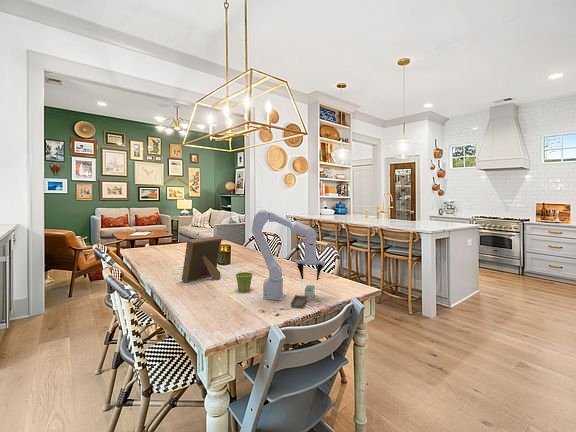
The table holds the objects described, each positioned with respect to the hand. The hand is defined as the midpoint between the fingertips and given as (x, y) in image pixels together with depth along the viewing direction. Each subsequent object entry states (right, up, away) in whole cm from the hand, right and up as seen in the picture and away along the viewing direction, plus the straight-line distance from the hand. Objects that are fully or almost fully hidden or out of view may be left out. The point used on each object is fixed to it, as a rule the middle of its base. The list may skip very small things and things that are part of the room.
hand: (309, 279), depth 149 cm
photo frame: (-61, -7, +30) cm, 68 cm away
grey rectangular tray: (-6, -10, -9) cm, 14 cm away
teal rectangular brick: (0, -9, +1) cm, 9 cm away
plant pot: (-34, -8, +10) cm, 37 cm away
